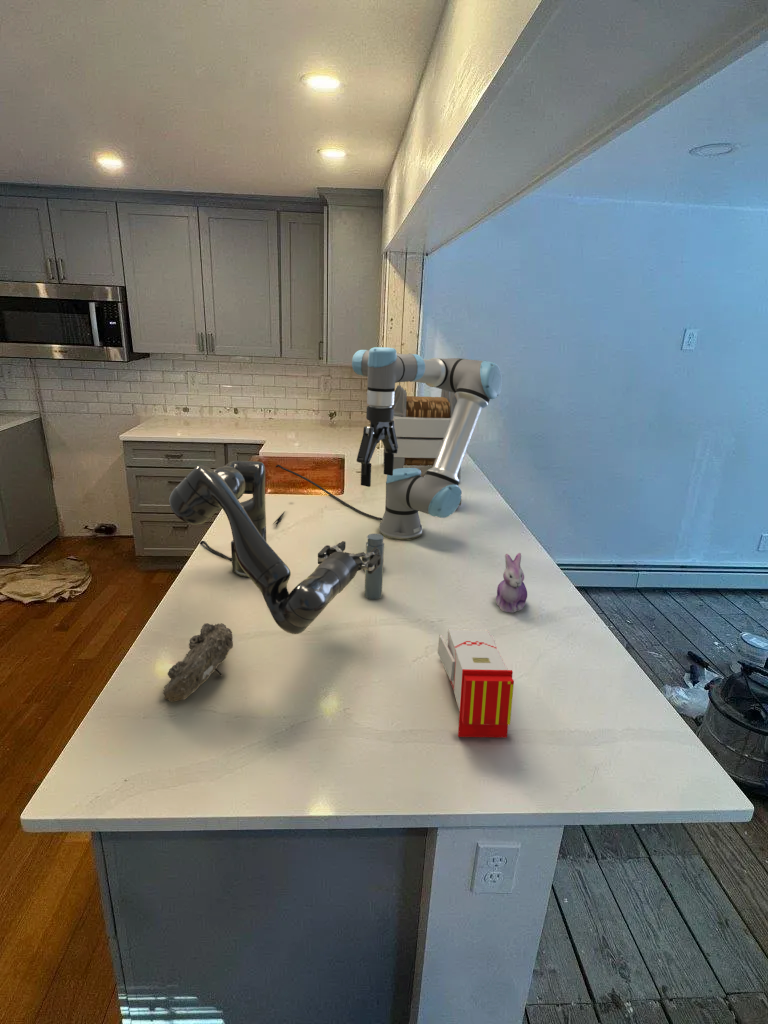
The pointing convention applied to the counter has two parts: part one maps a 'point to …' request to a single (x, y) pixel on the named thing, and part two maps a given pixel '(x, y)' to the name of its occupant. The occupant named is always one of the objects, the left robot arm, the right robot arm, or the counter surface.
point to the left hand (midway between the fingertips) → (360, 547)
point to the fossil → (199, 661)
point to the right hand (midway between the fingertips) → (377, 480)
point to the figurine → (512, 586)
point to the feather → (278, 519)
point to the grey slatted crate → (420, 427)
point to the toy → (478, 682)
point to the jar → (376, 578)
